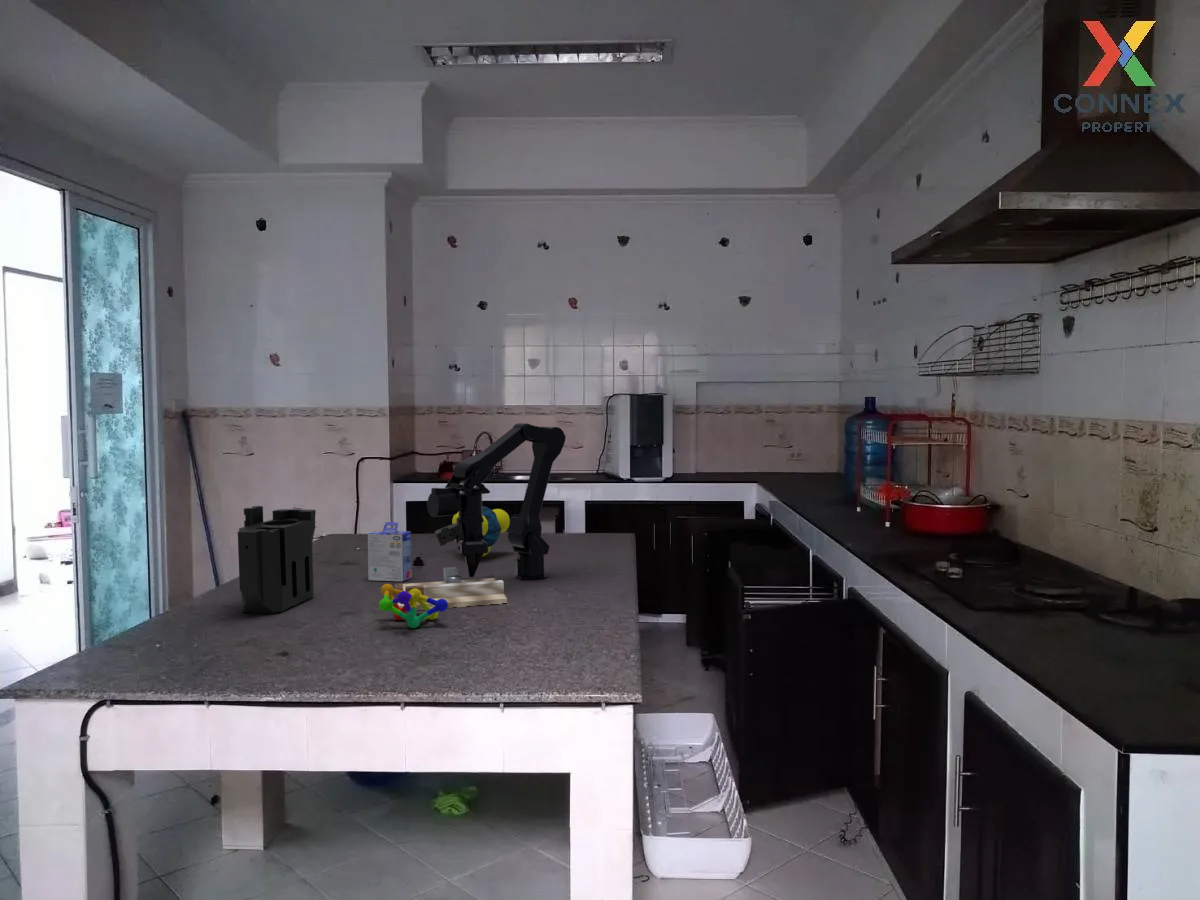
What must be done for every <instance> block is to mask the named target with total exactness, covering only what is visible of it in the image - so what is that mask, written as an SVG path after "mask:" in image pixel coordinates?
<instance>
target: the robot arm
mask: <svg viewBox="0 0 1200 900" xmlns="http://www.w3.org/2000/svg"><path fill="white" fill-rule="evenodd" d="M566 438H567V437H566V434H565V433H564V431H563V429H562V428H560V427H558V426H538V425H533V424H530V423H526V422H524V423H523V422H522V423H521V422H518V423H516V424H514V425H513V426H512V427H511V429H509V430H508V431H507V432H505V433H504V434H503V435H502V436H500V437H499V438H497V440H495V441H494V442H493V443H491V444H490V445H489V446H488V447H485V449H483V450H482V451H481V452H479V453H477V454H475V455H471V456H468V457H467V458H464V459H462V460H460V461H459V462H457V464H455V466H454V467H453V468H454V471H453V474H452V475H451V476H450V479H449V480H448V482H447V484H446V485H445V486H444V487H432V488H431V489H430V491H431V492H430V493H429V495H428V497H427V500H426V509H427V512H428V514H429V515H430V516H431V517H432V518H437V517H438V518H439V517H449V516H454V515H456V514H457V513H458V514H459V516H458V518H457V523H455V524H448V525H446V526H444V527H441V528H439V529H437V530H435V531H434V534H435V537H436V539H437V542H438V544H439V547H441V546H445V545H446V544H447V543H451V542H453V541H454V542H455V544H459V542H460V544H459V546H457V549H458V550H459V553H460V554H461V555H462V556H464V559H465V565H466V569H467V572H468V577H469V578H474V577H475V575H476V572H477V570H478V567H479V565H480V562H481V560H482V558H483V557H482V556H483V553H488V544H487V543H486V542H485V541H484V540H483V539H484V535H483V526H482V522H484V521H483V517H482V506H483V495H487V494H490V493H491V491H490V489H488V488H487V487H486V486H485V484H483V483H484V482H485V480H487V478H489V476H490V475H491V474H492V471H493V469H494V468H495V466H496V465H497V464H499V462H501V461H502V460H503V459H505V458H506V457H507V456H508V455H509V454H511V453H512V452H514V450H516V449H517V448H519V447H520V446H521V445H522V444H524V443H525V442H526V441H527V442H530V443H532V445H531V449H532V453H533V462H532V466H531V470H530V475H529V476H528V477H529V478H528V482H527V486H526V488H525V489H526V490H525V494H524V498H523V503H522V505H521V508H520V512H519V513H518V515H517V516H511V517H510V524H509V527H508V529H507V530H506V531H505V532H506V533H507V540H508V541H509V543H510V545H511V546H512V549H513V552H515V553H517V558H516V559H515V574H516V576H517V577H518V579H519V580H522V581H523V580H535V578H538V579H545V577H546V575H545V555H548V554H549V550H550V545H549V544H548V543H547V542H546V541H545V540H544V539H543V538H542V529H543V527H542V522H541V517H540V514H541V511H542V507H543V504H544V503H543V502H544V500H545V499H544V498H545V495H546V491H547V486H548V483H549V479H550V476H551V472H552V467H553V465H554V462H555V461H556V460H557V458H558V457H559V455H560V454H561V453H562V450H563V449H564V445H565V443H566ZM488 554H489V553H488ZM546 578H547V577H546Z"/></svg>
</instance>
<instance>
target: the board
mask: <svg viewBox="0 0 1200 900" xmlns="http://www.w3.org/2000/svg"><path fill="white" fill-rule="evenodd" d="M504 583H505V582H504V580H502V579H498V580H496V578H495V577H491V578H475V579H474V578H473V579H461V583H450V584H445V582H444V580H443V581H429V582H427V581H426V582H413V583H410V582H409V583H400V582H399V583H395V585H394V586H395V588H394V589H397V590H402V591H407V592H409V591H410V590H411V589H414V588H416V589H418V590H420V591H421V592H422V595H424V596H426V597H429V598H431V599H434V600H439V599H445V600H446V601H447V602H448V608H447V609H454V608H453V607H457V608H468V607H467V606H471V607H478V606H477V605H485V606H491V605H490V604H499V605H503V604H502V603H507V604H508V598H507V596H506V594H505V584H504ZM397 596H398V595H397V594H395V598H397ZM425 603H426V604H427V605H428V606H429V607H430V608H431V607H434V606H435V605H433V604H430V603H428V602H425ZM397 604H398V605H399V607H400V608H402V607H403V606H404V604H401V603H397ZM410 607H411V609H412V605H411V606H410ZM417 611H426V610H425V609H424V608H423V607H422V606H421V605H420V604H419V603H418V602H417Z"/></svg>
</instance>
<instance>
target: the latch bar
mask: <svg viewBox="0 0 1200 900" xmlns="http://www.w3.org/2000/svg"><path fill="white" fill-rule="evenodd" d="M442 568H443V581H444V582H445V584H450V583H461V580H462V575H460V573H459V571H458V568H457V567H456V566H450V567H442Z"/></svg>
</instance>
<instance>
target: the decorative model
mask: <svg viewBox="0 0 1200 900" xmlns="http://www.w3.org/2000/svg"><path fill="white" fill-rule="evenodd" d="M380 592H381V594H382V596H383V598H382V599H381V600H379V603H378V608H379V609H380V611H383V612H388V611H390V612H391V613H393V617H394V619H395V620H397V621H400V620H401V621H404V620H405V621H406V624H407V626H408V627H409V628H410V629H416V628H419V626H420V625H421V622H423V621H425V620H427V619H428V620H429V621H434V620H436V619H437V618H438V616H439V612H442V613H443V612H445V611H447V609H449V608H448V602H447V601H446V600H445V599H439V600H434V599H431V598H429V597H426V596H424V595H422V592H421V591H420V590H418V589H416V588H414V589H411V590H410V591H409V592H407V591H402V590H397V589H395V588H394V586H393V585H392V584H391V583H384V584H383V585H382V586H381V588H380ZM396 594H397V595H398V596H397V598H396V597H394V595H396ZM417 602H418V603H419V604H420V605H421V606H422V607H423V608H424V609H425V610H424V611H425V612H423V613H421V614H419V615H417V611H418V610H417ZM425 602H428V603H430V604H433V605H435V606H434V607H431V608H430V607H429V606H428V605H427V604H426V603H425ZM397 603H401V604H404V606H403V607H402V608H400V607H399V605H398V604H397ZM411 605H412V609H411V607H410V606H411Z"/></svg>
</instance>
